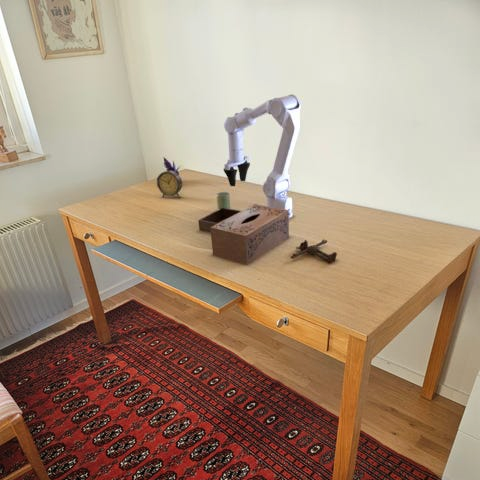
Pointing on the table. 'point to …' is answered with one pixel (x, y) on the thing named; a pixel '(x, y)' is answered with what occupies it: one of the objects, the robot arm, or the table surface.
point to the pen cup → (223, 200)
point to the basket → (215, 218)
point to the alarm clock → (169, 182)
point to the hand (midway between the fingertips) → (237, 183)
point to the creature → (170, 167)
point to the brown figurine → (315, 251)
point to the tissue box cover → (250, 233)
